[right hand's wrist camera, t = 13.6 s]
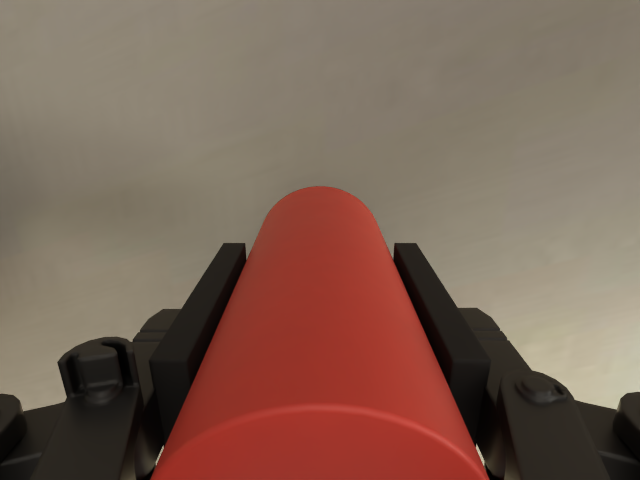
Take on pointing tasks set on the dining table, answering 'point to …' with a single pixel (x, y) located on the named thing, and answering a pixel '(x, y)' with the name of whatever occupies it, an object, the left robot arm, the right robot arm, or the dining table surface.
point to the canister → (319, 364)
